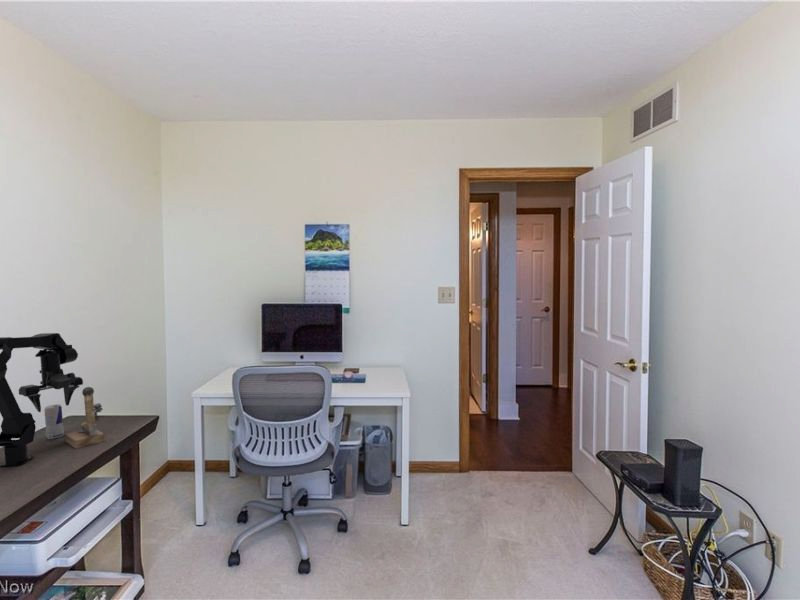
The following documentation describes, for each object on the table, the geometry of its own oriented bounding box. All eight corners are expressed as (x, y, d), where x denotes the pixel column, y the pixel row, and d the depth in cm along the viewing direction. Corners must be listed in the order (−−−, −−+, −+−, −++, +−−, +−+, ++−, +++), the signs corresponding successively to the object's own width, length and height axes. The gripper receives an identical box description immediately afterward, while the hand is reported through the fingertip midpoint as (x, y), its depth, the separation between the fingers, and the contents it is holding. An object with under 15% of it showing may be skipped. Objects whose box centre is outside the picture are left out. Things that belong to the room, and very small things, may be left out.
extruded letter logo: (98, 412, 209) (97, 400, 209) (102, 412, 210) (101, 400, 210) (83, 430, 186) (82, 416, 186) (88, 429, 187) (87, 416, 186)
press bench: (76, 448, 166) (74, 429, 166) (65, 441, 173) (64, 423, 173) (104, 441, 173) (102, 422, 173) (93, 434, 180) (91, 417, 180)
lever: (87, 434, 170) (83, 388, 169) (84, 432, 172) (80, 387, 171) (98, 431, 173) (95, 386, 171) (95, 429, 175) (91, 385, 174)
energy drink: (67, 434, 182) (64, 404, 181) (56, 439, 176) (53, 408, 176) (54, 434, 182) (52, 404, 181) (43, 439, 177) (40, 408, 176)
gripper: (32, 373, 159) (36, 418, 160) (90, 363, 176) (92, 404, 177) (16, 371, 164) (19, 414, 165) (73, 362, 181) (76, 401, 182)
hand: (53, 408), depth 172 cm, fingers open, 9 cm apart
